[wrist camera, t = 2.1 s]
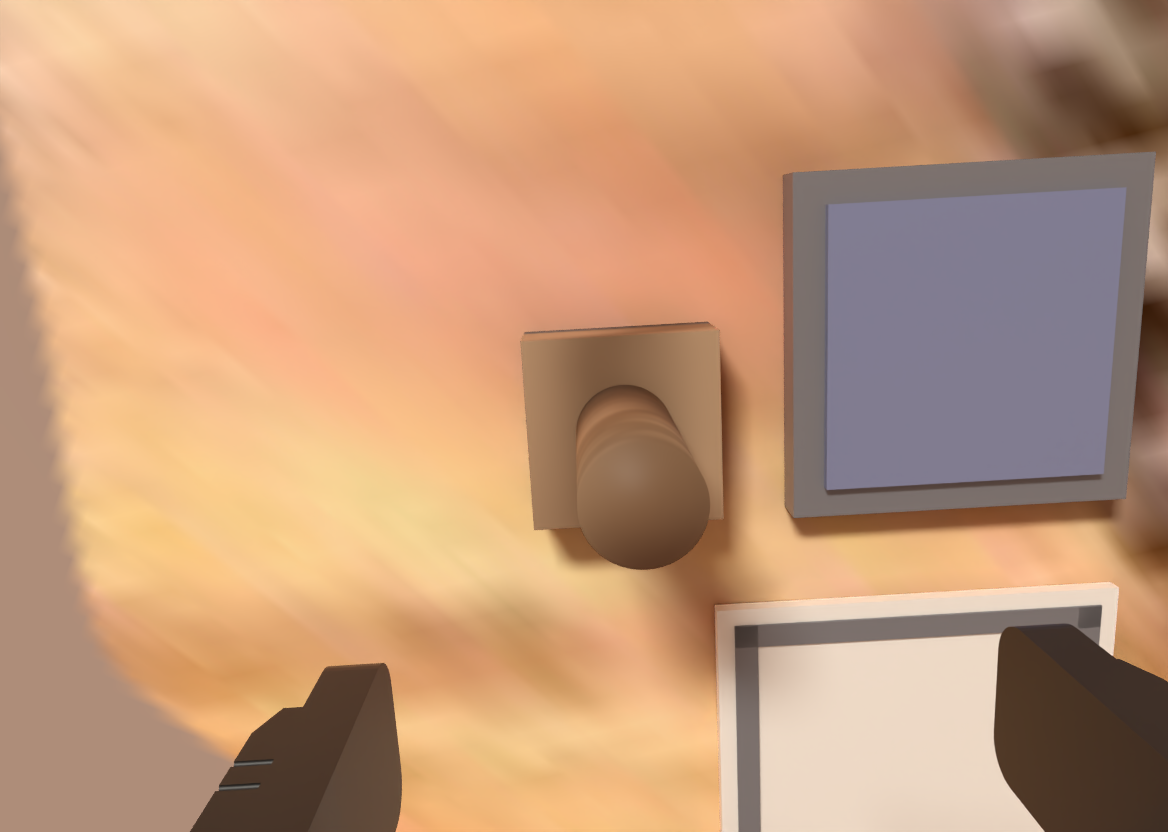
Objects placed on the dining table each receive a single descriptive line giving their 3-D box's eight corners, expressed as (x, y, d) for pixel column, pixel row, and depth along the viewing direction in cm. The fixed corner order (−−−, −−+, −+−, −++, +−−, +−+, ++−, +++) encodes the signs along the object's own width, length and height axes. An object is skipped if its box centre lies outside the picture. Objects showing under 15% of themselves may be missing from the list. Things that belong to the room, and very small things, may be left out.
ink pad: (1130, 155, 27) (1162, 150, 25) (1103, 488, 29) (1131, 501, 28) (783, 174, 27) (795, 171, 25) (784, 506, 29) (796, 520, 28)
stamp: (707, 321, 28) (775, 368, 18) (711, 495, 29) (777, 622, 20) (524, 332, 28) (500, 383, 18) (537, 505, 29) (520, 637, 20)
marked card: (1109, 581, 30) (1121, 588, 29) (1082, 917, 33) (1091, 930, 32) (714, 604, 30) (717, 612, 29) (722, 938, 33) (725, 951, 32)
